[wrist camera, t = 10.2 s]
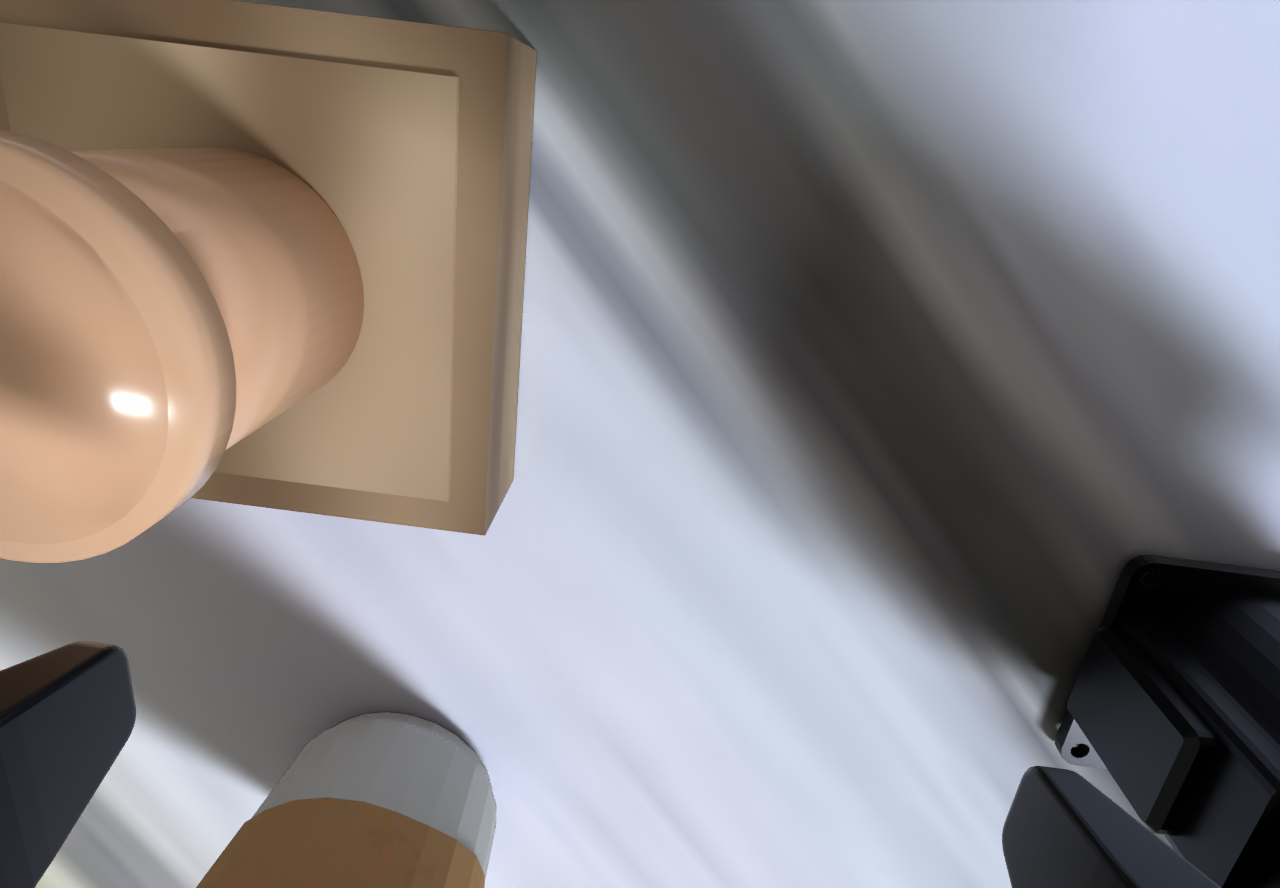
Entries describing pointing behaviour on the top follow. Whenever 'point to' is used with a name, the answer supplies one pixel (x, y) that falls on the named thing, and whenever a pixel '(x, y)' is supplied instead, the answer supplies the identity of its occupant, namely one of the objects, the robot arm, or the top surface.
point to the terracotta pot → (151, 329)
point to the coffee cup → (369, 813)
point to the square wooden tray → (362, 202)
